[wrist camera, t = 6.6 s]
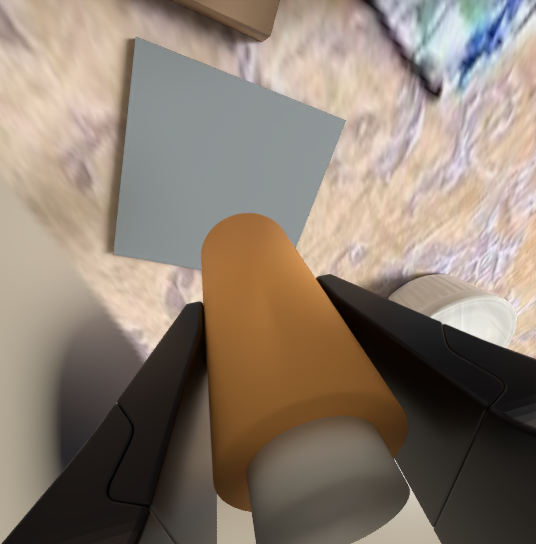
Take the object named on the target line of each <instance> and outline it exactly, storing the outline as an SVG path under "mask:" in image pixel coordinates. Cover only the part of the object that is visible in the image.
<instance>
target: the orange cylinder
mask: <svg viewBox="0 0 536 544" xmlns="http://www.w3.org/2000/svg"><path fill="white" fill-rule="evenodd" d="M201 267H202V286H203V304H204V322H205V341H206V360H207V378H208V396H209V415H210V433H211V452H212V470H213V483H214V488H215V490H216V492H217V494H218V495H219V497H220V498H221V499H222V500H223V501H225V502H226V503H227V504H229V505H231V506H233V507H235V508H238V509H241V510H245V511H249V512H252V517H253V524H254V531H255V538H256V544H351V543H353V542H355V541H358V540H360V539H361V538H364V537H366V536H367V535H369V534H371V533H373V532H374V531H376V530H377V529H379V528H381V527H382V526H383V525H385V524H386V523H388V522H389V521H390V520H391V519H392V518H394V517H395V516H396V515H397V514H398V513H399V512H400V510H402V508H403V507H404V505H405V504H406V502H407V500H408V498H409V495H410V489H409V486H408V484H407V482H406V480H405V479H404V477H403V475H402V473H401V471H400V469H399V468H398V466H397V464H396V462H395V460H394V457H395V456H396V455H397V453H398V452H399V451H400V449H401V447H402V446H403V444H404V442H405V439H406V437H407V432H408V419H407V415H406V414H405V412H404V410H403V408H402V407H401V405H400V404H399V402H398V401H397V399H396V398H395V396H394V395H393V393H392V392H391V390H390V389H389V387H388V386H387V384H386V383H385V381H384V380H383V378H382V377H381V375H380V374H379V372H378V371H377V370H376V368H375V367H374V365H373V364H372V362H371V361H370V359H369V358H368V356H367V355H366V353H365V352H364V350H363V349H362V347H361V346H360V344H359V343H358V341H357V340H356V338H355V337H354V335H353V334H352V332H351V331H350V329H349V328H348V326H347V325H346V323H345V322H344V320H343V319H342V317H341V316H340V314H339V313H338V311H337V310H336V308H335V307H334V305H333V304H332V302H331V301H330V299H329V298H328V296H327V295H326V293H325V292H324V290H323V289H322V287H321V286H320V284H319V283H318V281H317V280H316V278H315V277H314V275H313V274H312V272H311V271H310V269H309V268H308V266H307V265H306V263H305V262H304V260H303V259H302V257H301V256H300V254H299V253H298V251H297V250H296V248H295V247H294V245H293V244H292V242H291V241H290V239H289V238H288V236H287V235H286V233H285V232H284V230H283V229H282V228H281V227H280V225H278V224H277V223H276V222H275V221H274V220H272V219H270V218H268V217H266V216H264V215H261V214H256V213H241V214H236V215H233V216H230V217H228V218H225V219H224V220H222V221H220V222H219V223H218V224H216V225H215V226H214V227H213V228H212V229H211V230H210V232H209V233H208V235H207V236H206V238H205V240H204V242H203V245H202V250H201Z"/></svg>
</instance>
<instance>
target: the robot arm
mask: <svg viewBox="0 0 536 544" xmlns="http://www.w3.org/2000/svg"><path fill="white" fill-rule="evenodd" d="M316 280H317V281H318V283H319V284H320V286H321V287H322V289H323V290H324V292H325V293H326V295H327V296H328V298H329V299H330V301H331V302H332V304H333V305H334V307H335V308H336V310H337V311H338V313H339V314H340V316H341V317H342V319H343V320H344V322H345V323H346V325H347V326H348V328H349V329H350V331H351V332H352V334H353V335H354V337H355V338H356V340H357V341H358V343H359V344H360V346H361V347H362V349H363V350H364V352H365V353H366V355H367V356H368V358H369V359H370V361H371V362H372V364H373V365H374V367H375V368H376V370H377V371H378V372H379V374H380V375H381V377H382V378H383V380H384V381H385V383H386V384H387V386H388V387H389V389H390V390H391V392H392V393H393V395H394V396H395V398H396V399H397V401H398V402H399V404H400V405H401V407H402V408H403V410H404V412H405V414H406V415H407V419H408V432H407V437H406V439H405V442H404V444H403V446H402V447H401V449H400V451H399V452H398V453H397V455H396V456H395V457H394V458H395V460H396V462H397V464H398V466H399V467H400V469H401V471H402V473H403V475H404V476H405V478H406V480H407V482H408V484H409V485H410V487H411V489H412V491H413V493H414V494H415V496H416V498H417V500H418V502H419V503H420V505H421V507H422V509H423V511H424V513H425V514H426V516H427V518H428V520H429V522H430V523H431V525H432V526H433V527H434V531H435V533H436V534H437V536H438V538H439V540H440V542H441V543H442V544H536V359H534V358H531V357H529V356H526V355H523V354H520V353H518V352H515V351H512V350H509V349H507V348H504V347H501V346H499V345H496V344H493V343H491V342H488V341H485V340H483V339H481V338H478V337H476V336H473V335H471V334H468V333H466V332H464V331H461V330H459V329H456V328H454V327H452V326H450V325H447V324H443V325H442V322H440V321H438V320H435V319H433V318H431V317H429V316H426V315H424V314H422V313H419V312H417V311H415V310H412V309H410V308H408V307H405V306H403V305H401V304H398V303H396V302H394V301H392V300H389V299H387V298H385V297H382V296H380V295H378V294H375V293H373V292H371V291H368V290H366V289H364V288H361V287H359V286H357V285H355V284H352V283H350V282H348V281H345V280H343V279H341V278H338V277H336V276H334V275H331V274H327V275H323V276H318V277H317V278H316ZM2 544H217V492H216V490H215V488H214V483H213V470H212V452H211V433H210V415H209V396H208V378H207V360H206V341H205V322H204V306H203V303H202V302H195V303H190V304H187V305H186V306H185V307H184V309H183V310H182V311H181V313H180V314H179V316H178V317H177V318H176V320H175V321H174V322H173V324H172V325H171V327H170V328H169V329H168V331H167V332H166V334H165V335H164V336H163V338H162V339H161V341H160V342H159V343H158V345H157V346H156V348H155V349H154V350H153V352H152V353H151V354H150V356H149V357H148V359H147V360H146V361H145V363H144V364H143V366H142V367H141V369H140V370H139V371H138V373H137V374H136V376H135V377H134V378H133V380H132V381H131V382H130V384H129V385H128V387H127V388H126V390H125V391H124V392H123V393H122V395H121V396H120V398H119V399H118V400H117V404H115V405H114V406H113V407H112V409H111V410H110V411H109V413H108V414H107V416H106V417H105V418H104V420H103V421H102V422H101V424H100V425H99V426H98V428H97V429H96V430H95V432H94V433H93V435H92V436H91V437H90V438H89V440H88V441H87V442H86V443H85V445H84V446H83V447H82V448H81V450H80V451H79V452H78V453H77V455H76V456H75V457H74V458H73V459H72V461H71V462H70V463H69V464H68V466H67V467H66V468H65V469H64V470H63V472H62V473H61V474H60V475H59V476H58V478H57V479H56V480H55V481H54V482H53V483H52V485H51V486H50V487H49V488H48V490H47V491H46V492H45V493H44V494H43V495H42V496H41V498H40V499H39V500H38V501H37V502H36V504H35V505H34V506H33V507H32V508H31V509H30V511H29V512H28V513H27V514H26V515H25V516H24V518H23V519H22V520H21V521H20V522H19V524H18V525H17V526H16V527H15V528H14V529H13V531H12V532H11V533H10V534H9V536H8V537H7V538H6V539H5V540H4V541H3V542H2Z"/></svg>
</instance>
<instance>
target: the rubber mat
mask: <svg viewBox="0 0 536 544" xmlns="http://www.w3.org/2000/svg"><path fill="white" fill-rule="evenodd" d="M345 122H346V120H344V119H341V118H339V117H336V116H334V115H331V114H329V113H326V112H324V111H321V110H319V109H316V108H314V107H311V106H309V105H306V104H304V103H301V102H299V101H296V100H294V99H291V98H289V97H286V96H284V95H281V94H279V93H276V92H274V91H271V90H269V89H266V88H264V87H261V86H259V85H256V84H254V83H251V82H249V81H246V80H244V79H241V78H239V77H236V76H233V75H231V74H228V73H226V72H223V71H221V70H218V69H216V68H213V67H211V66H208V65H206V64H203V63H201V62H198V61H196V60H193V59H191V58H188V57H186V56H183V55H181V54H178V53H176V52H173V51H171V50H168V49H166V48H163V47H161V46H158V45H156V44H153V43H151V42H148V41H146V40H143V39H141V38H138V37H136V38H135V47H134V57H133V67H132V76H131V86H130V96H129V106H128V115H127V125H126V135H125V145H124V154H123V164H122V174H121V183H120V193H119V203H118V213H117V222H116V232H115V242H114V252H113V255H119V256H125V257H130V258H136V259H142V260H148V261H153V262H159V263H165V264H171V265H176V266H182V267H188V268H194V269H199V270H202V267H201V250H202V245H203V242H204V240H205V238H206V236H207V235H208V233H209V232H210V230H211V229H212V228H213V227H214V226H215V225H216V224H218V223H219V222H220V221H222V220H224V219H225V218H228V217H230V216H233V215H236V214H241V213H256V214H261V215H264V216H266V217H268V218H270V219H272V220H274V221H275V222H276V223H277V224H278V225H280V227H281V228H282V229H283V230H284V232H285V233H286V235H287V236H288V238H289V239H290V241H291V242H292V244H293V245H294V247H295V248H296V246H297V243H298V241H299V238H300V236H301V233H302V231H303V228H304V226H305V223H306V221H307V218H308V216H309V213H310V210H311V208H312V205H313V203H314V200H315V198H316V195H317V193H318V190H319V188H320V185H321V183H322V180H323V177H324V175H325V172H326V170H327V167H328V165H329V162H330V160H331V157H332V155H333V152H334V150H335V147H336V144H337V142H338V139H339V137H340V134H341V132H342V129H343V127H344V124H345Z"/></svg>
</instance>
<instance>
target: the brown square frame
mask: <svg viewBox="0 0 536 544" xmlns="http://www.w3.org/2000/svg"><path fill="white" fill-rule="evenodd" d="M170 1H173V2H175V3H177V4H179V5H182V6H184V7H186V8H188V9H190V10H193V11H195V12H197V13H199V14H201V15H204V16H206V17H208V18H210V19H212V20H215V21H217V22H219V23H221V24H224V25H226V26H228V27H230V28H232V29H235V30H237V31H239V32H241V33H243V34H246V35H248V36H250V37H252V38H255V39H257V40H259V41H261V42H263V41H264V40H266V39H267V38H268V37H270V35H271V31H272V28H273V24H274V20H275V16H276V12H277V9H278V5H279V1H280V0H170Z"/></svg>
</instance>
